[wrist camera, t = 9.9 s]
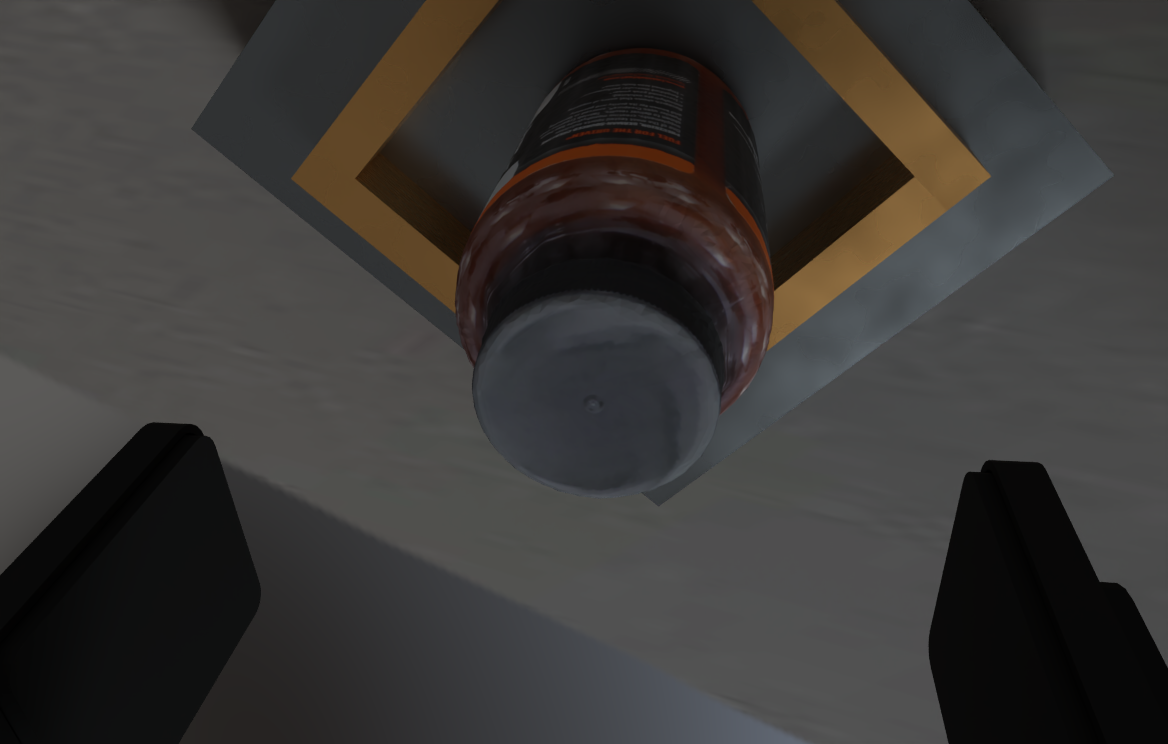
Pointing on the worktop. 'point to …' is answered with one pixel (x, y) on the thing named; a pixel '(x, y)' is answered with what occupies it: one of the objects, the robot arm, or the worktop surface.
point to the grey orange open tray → (774, 109)
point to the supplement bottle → (619, 277)
